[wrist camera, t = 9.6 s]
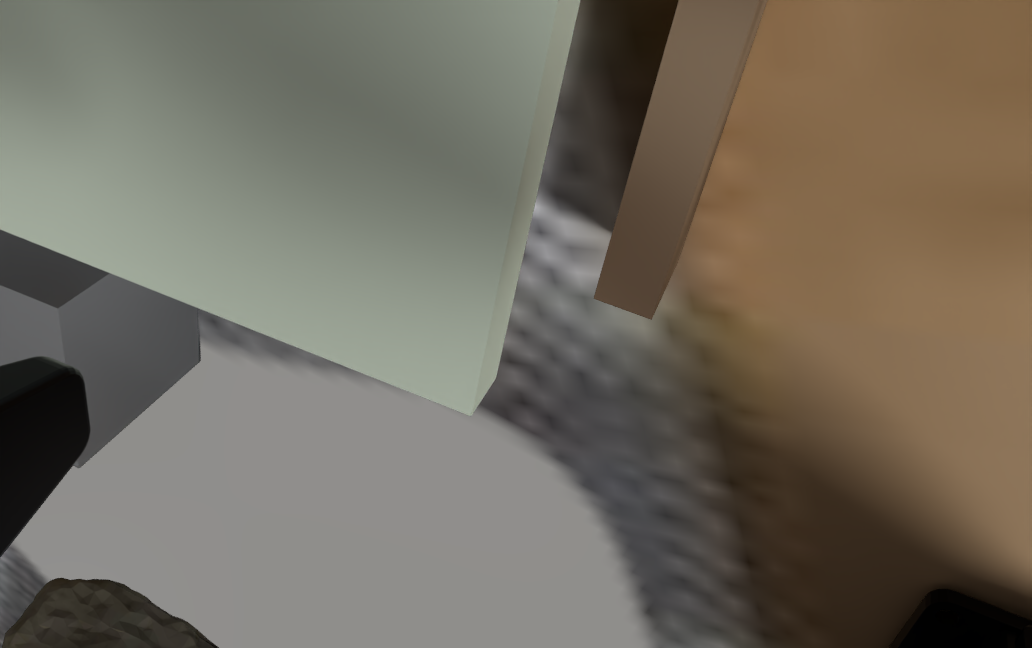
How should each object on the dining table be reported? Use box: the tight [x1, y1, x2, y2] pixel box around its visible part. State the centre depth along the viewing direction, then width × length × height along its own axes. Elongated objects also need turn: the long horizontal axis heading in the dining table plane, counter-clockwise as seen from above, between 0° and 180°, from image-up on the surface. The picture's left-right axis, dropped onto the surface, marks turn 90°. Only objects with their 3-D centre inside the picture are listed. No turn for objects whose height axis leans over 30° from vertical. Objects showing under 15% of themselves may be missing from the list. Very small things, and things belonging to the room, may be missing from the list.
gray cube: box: [0, 230, 201, 468], centre depth 24 cm, size 5×5×5 cm
